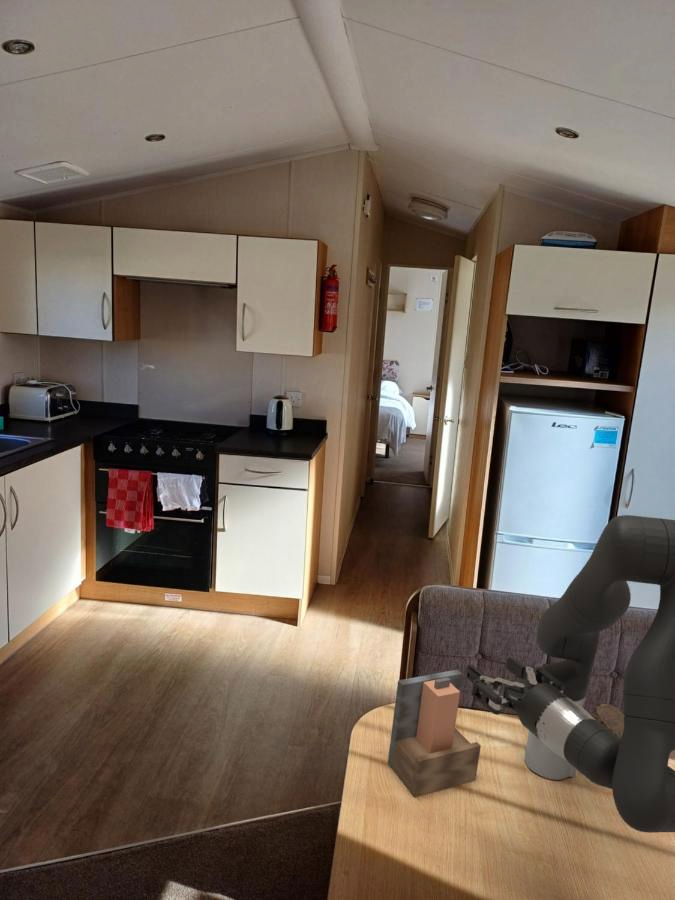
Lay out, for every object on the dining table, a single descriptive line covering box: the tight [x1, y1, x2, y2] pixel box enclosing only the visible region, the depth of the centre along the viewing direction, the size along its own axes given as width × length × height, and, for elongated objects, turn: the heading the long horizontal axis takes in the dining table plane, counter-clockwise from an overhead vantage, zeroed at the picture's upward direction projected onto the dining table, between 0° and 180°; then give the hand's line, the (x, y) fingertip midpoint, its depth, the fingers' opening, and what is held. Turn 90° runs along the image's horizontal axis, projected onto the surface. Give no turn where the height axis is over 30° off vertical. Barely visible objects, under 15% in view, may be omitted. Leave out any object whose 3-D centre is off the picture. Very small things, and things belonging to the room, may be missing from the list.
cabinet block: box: [416, 678, 461, 754], centre depth 125 cm, size 5×5×14 cm
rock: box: [590, 703, 625, 739], centre depth 135 cm, size 12×10×10 cm
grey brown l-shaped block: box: [387, 669, 482, 798], centre depth 125 cm, size 14×10×18 cm
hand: (488, 665), depth 110 cm, fingers open, 8 cm apart
